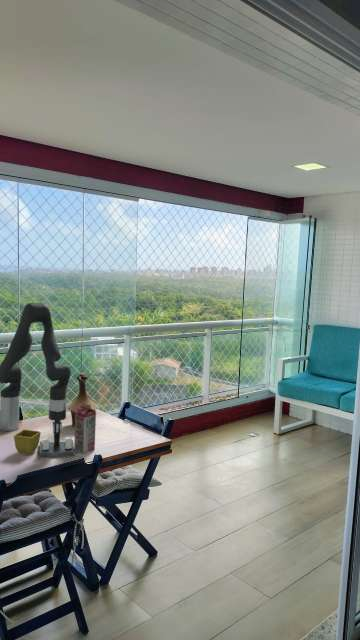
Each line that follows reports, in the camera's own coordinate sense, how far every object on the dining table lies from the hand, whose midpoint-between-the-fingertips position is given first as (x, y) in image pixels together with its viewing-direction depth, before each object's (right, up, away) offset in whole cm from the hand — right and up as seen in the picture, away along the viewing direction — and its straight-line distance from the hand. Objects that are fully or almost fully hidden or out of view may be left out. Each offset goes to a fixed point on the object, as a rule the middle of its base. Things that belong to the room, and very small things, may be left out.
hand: (56, 445), depth 222 cm
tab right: (+5, -1, 0) cm, 5 cm away
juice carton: (+12, -4, +5) cm, 13 cm away
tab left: (-4, -1, -2) cm, 5 cm away
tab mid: (-1, 0, +4) cm, 4 cm away
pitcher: (+3, 0, +41) cm, 41 cm away
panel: (-1, -3, +3) cm, 4 cm away
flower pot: (-13, -3, -1) cm, 13 cm away
